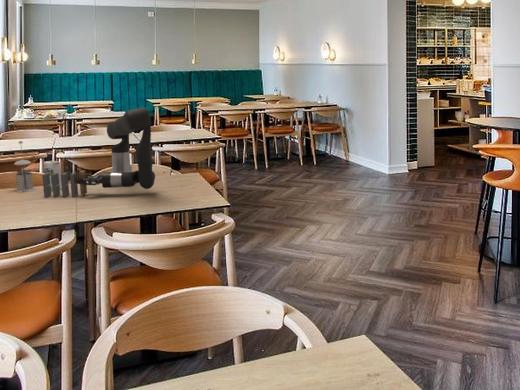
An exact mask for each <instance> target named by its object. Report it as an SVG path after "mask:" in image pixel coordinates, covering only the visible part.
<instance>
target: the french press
mask: <svg viewBox="0 0 520 390" xmlns="http://www.w3.org/2000/svg"><path fill="white" fill-rule="evenodd" d="M23 143H24V142H23V141H22V140H19V141H18V144H19V145H22V144H23ZM20 150H21V154H23V150H22V147H20ZM31 164H32V162H31V161H30V160H28V159H23V157H21V159H20V160H16V161H15V162H14V164H13V165H14V166H22V167H21V169H20V170H16V171H15V172H16V174H15V180H16V181H15V182H16V188H15V190H16V191H15V192H18V191H24V192H31V191H35V190H36V187H34V181H33V180H34V179H33V173H32V170H31V169H27V168H26V166H27V165H31ZM23 166H24V167H23Z"/></svg>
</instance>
